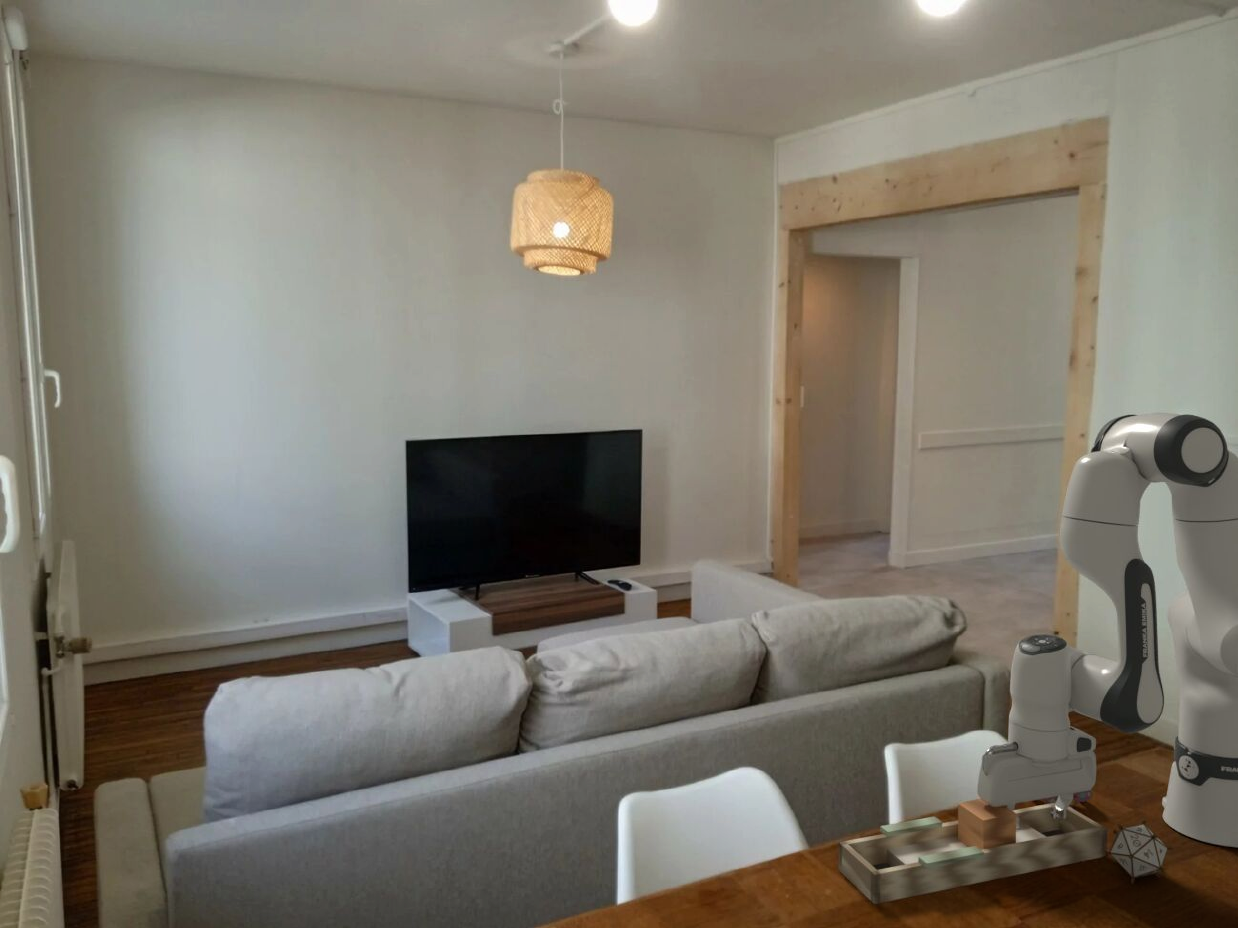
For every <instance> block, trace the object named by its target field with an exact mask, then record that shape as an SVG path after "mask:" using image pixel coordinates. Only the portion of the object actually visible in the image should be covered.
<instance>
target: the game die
mask: <svg viewBox="0 0 1238 928" xmlns="http://www.w3.org/2000/svg"><path fill="white" fill-rule="evenodd" d="M1141 821H1142V823H1140V824H1136V825H1131V826H1126V827H1123V826H1122V824H1119V823H1118V824H1117V827H1118V829H1119V830H1117V829H1112V832H1113V834H1114V835H1115V837H1114V839H1113V841H1112V845H1111V846H1110V849H1109V850H1108V851H1107V852H1106V851H1105V852H1104V853H1103V854H1105V855H1106V856H1109V855H1110V856H1111V857H1112V858H1113V859H1114V860H1115V861H1116V862H1117V863H1118V865H1120V867H1121V868H1122V869H1123V870H1124V871H1125V872H1126V873H1127V874H1128V875H1129V876H1130V877H1131V879H1130V882H1131V884H1134V883H1135V878H1141V877H1145V876H1149V875H1153V874H1154V876H1155V878H1156V877H1157V878H1160V874H1159V871H1161V873H1165V874H1166V869H1165V868H1164V867H1163V864H1164V862H1165V859H1166V857H1167V853H1168V851H1173V849H1175V846H1174V847H1173V846H1167V845H1166V844H1165V843H1164V842H1163V841H1162V840H1161V839H1160V838H1159V837H1158V836H1157V834H1155V833H1154V832H1153V831H1152V830H1151V829H1150V828H1149V827H1148V826H1147V825H1146V824H1147V819H1146V818H1143V819H1142V820H1141Z"/></svg>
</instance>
